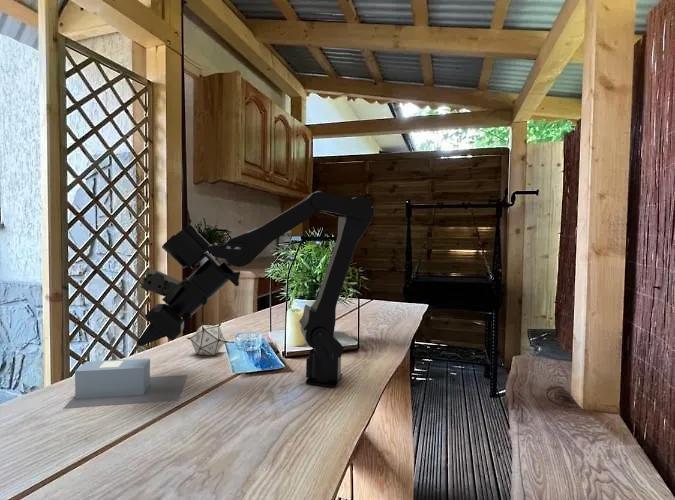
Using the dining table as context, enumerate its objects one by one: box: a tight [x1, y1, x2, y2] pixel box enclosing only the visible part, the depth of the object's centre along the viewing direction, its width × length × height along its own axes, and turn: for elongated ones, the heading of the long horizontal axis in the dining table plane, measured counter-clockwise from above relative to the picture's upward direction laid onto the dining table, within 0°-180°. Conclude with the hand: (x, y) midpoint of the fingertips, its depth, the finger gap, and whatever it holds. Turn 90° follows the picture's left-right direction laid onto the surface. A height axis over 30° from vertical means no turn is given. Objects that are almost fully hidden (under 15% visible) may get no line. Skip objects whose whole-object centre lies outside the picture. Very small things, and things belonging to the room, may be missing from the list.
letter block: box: [74, 358, 151, 399], centre depth 71 cm, size 5×5×11 cm
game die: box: [186, 322, 229, 357], centre depth 93 cm, size 9×8×10 cm
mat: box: [62, 374, 189, 410], centre depth 72 cm, size 18×12×1 cm, turn 104°
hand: (138, 344), depth 72 cm, fingers closed
